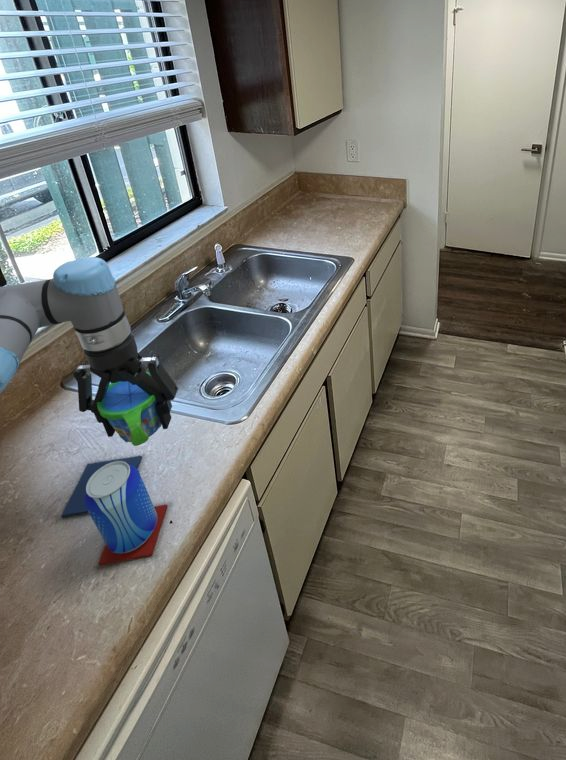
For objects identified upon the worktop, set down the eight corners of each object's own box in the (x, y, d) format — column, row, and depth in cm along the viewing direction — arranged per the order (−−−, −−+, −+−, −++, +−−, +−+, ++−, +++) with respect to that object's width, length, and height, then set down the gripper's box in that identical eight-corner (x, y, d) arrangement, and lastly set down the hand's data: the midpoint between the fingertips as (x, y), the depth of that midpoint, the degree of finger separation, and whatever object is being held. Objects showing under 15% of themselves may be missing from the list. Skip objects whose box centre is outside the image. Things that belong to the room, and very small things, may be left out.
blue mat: (62, 517, 86) (61, 515, 86) (88, 465, 96) (87, 463, 95) (122, 506, 88) (121, 505, 87) (142, 457, 97) (141, 455, 97)
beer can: (162, 538, 82) (138, 484, 75) (109, 567, 77) (79, 513, 70) (156, 501, 88) (133, 447, 81) (107, 526, 84) (79, 472, 77)
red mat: (98, 565, 78) (97, 564, 78) (119, 514, 86) (118, 512, 86) (152, 555, 80) (151, 553, 79) (167, 506, 88) (166, 504, 87)
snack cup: (172, 448, 84) (159, 410, 79) (109, 472, 80) (91, 434, 75) (171, 391, 96) (159, 356, 92) (115, 410, 92) (100, 373, 88)
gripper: (25, 362, 73) (70, 452, 82) (167, 346, 76) (194, 434, 86) (50, 332, 79) (89, 419, 89) (179, 319, 83) (203, 404, 92)
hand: (140, 427), depth 87 cm, fingers closed on snack cup, 9 cm apart
